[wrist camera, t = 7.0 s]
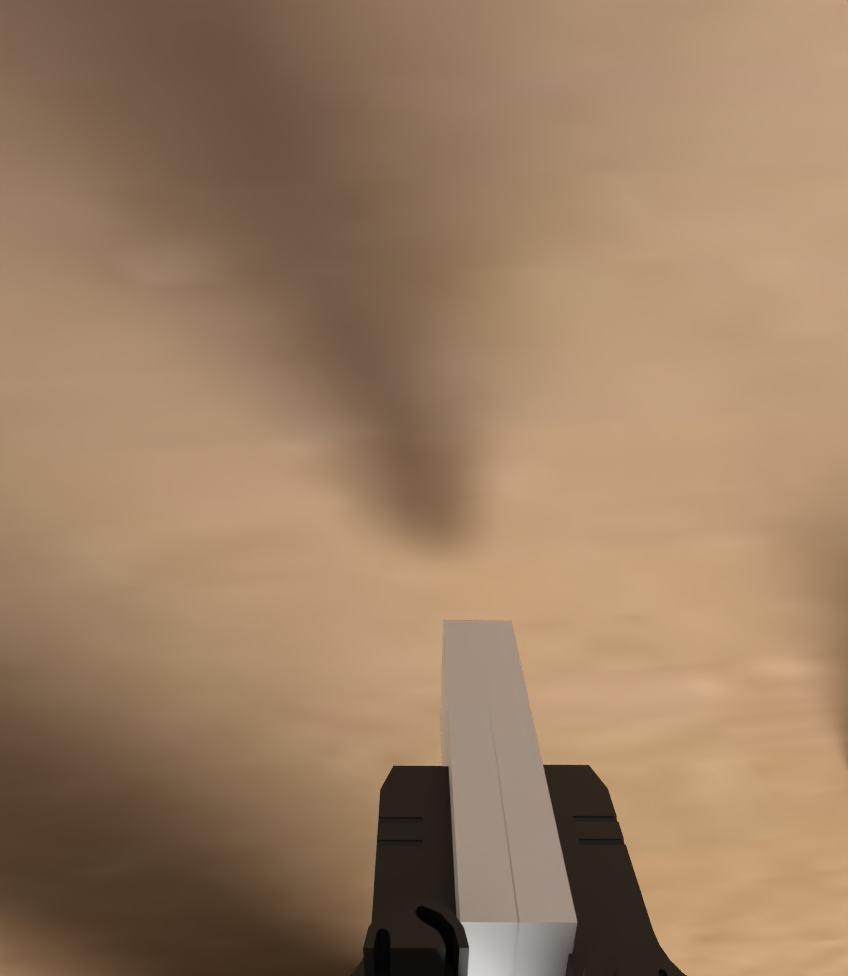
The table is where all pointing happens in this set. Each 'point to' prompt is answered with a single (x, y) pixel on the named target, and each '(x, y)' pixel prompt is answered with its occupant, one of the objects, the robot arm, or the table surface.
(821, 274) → the table surface
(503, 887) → the robot arm
